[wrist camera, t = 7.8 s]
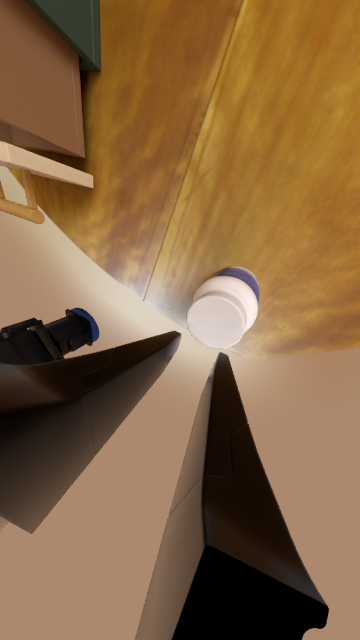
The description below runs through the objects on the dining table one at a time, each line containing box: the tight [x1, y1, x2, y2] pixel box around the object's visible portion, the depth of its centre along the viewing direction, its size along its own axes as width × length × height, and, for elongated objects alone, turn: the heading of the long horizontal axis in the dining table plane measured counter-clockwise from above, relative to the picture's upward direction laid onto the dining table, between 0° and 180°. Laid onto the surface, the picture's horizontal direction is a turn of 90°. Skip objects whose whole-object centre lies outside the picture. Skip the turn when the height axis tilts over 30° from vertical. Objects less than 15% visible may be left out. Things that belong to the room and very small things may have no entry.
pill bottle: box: [187, 266, 260, 349], centre depth 14 cm, size 5×5×9 cm
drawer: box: [0, 0, 94, 224], centre depth 15 cm, size 19×13×8 cm
